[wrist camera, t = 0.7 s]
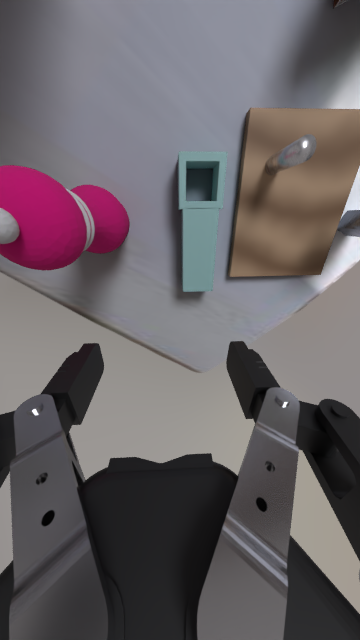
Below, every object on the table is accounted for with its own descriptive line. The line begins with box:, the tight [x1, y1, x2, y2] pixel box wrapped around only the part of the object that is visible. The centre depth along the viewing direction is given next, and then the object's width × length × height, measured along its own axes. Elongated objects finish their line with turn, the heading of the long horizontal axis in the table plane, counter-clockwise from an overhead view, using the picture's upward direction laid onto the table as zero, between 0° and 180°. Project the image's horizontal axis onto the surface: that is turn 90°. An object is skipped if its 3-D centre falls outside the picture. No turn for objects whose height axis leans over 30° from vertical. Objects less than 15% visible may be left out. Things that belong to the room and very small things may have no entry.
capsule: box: [265, 134, 316, 175], centre depth 21 cm, size 2×2×8 cm
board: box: [228, 108, 360, 277], centre depth 26 cm, size 19×15×1 cm
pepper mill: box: [0, 165, 129, 270], centre depth 17 cm, size 7×7×20 cm
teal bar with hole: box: [178, 152, 227, 292], centre depth 26 cm, size 16×5×4 cm, turn 0°
